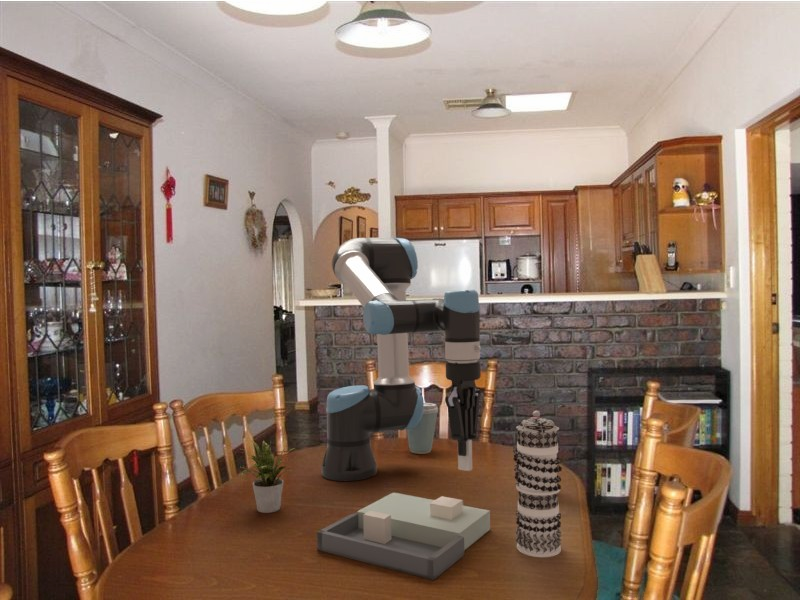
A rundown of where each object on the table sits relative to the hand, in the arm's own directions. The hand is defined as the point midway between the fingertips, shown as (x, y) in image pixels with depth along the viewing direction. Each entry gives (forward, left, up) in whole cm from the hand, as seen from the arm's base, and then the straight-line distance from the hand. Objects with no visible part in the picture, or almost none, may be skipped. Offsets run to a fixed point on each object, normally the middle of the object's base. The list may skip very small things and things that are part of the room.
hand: (465, 469), depth 140 cm
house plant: (-44, -16, -11) cm, 49 cm away
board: (-5, -9, -11) cm, 15 cm away
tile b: (0, -8, -7) cm, 11 cm away
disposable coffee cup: (-37, +45, -11) cm, 59 cm away
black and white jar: (+19, -6, -11) cm, 23 cm away
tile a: (-10, -18, -8) cm, 22 cm away
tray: (-5, -22, -11) cm, 25 cm away
